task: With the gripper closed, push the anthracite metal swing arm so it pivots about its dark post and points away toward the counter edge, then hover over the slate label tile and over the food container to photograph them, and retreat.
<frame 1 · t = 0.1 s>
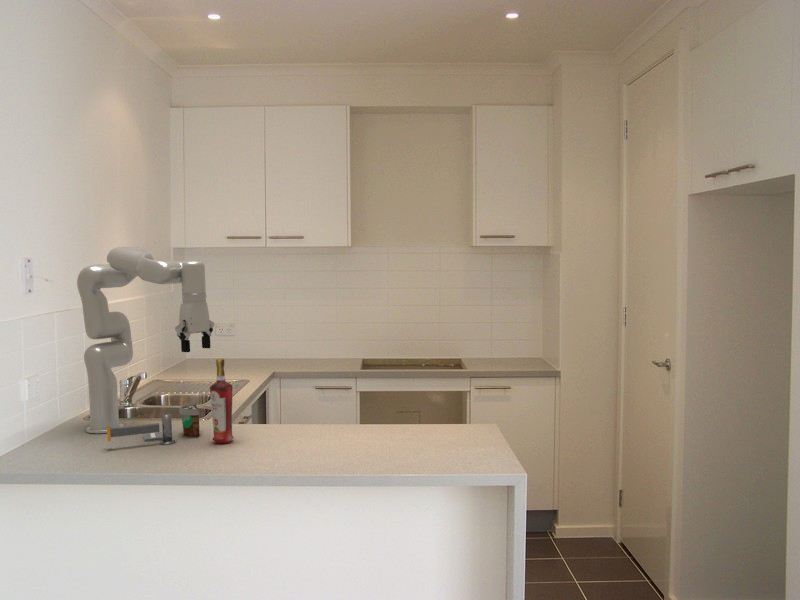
hand: (196, 350, 232), 31 cm above the countertop, tool pointing down, fingers open, 9 cm apart
food container: (189, 435, 244), on the countertop
swing arm: (133, 430, 229), point 6 cm above the countertop, hinge at 0.0°
pivot post: (167, 442, 234), on the countertop
liquor: (223, 442, 233), on the countertop
label tile: (153, 438, 240), on the countertop
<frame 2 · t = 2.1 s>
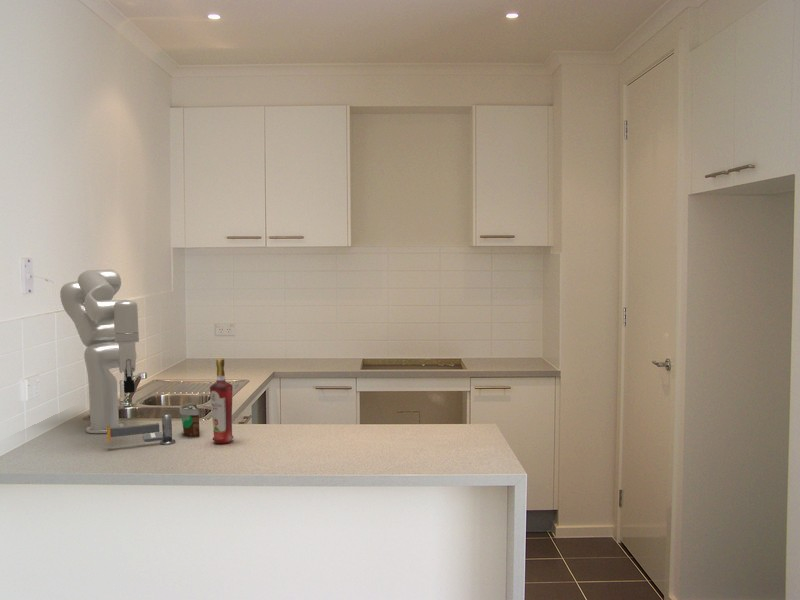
hand: (129, 392, 235), 17 cm above the countertop, tool pointing down, fingers closed
nothing on the countertop moved.
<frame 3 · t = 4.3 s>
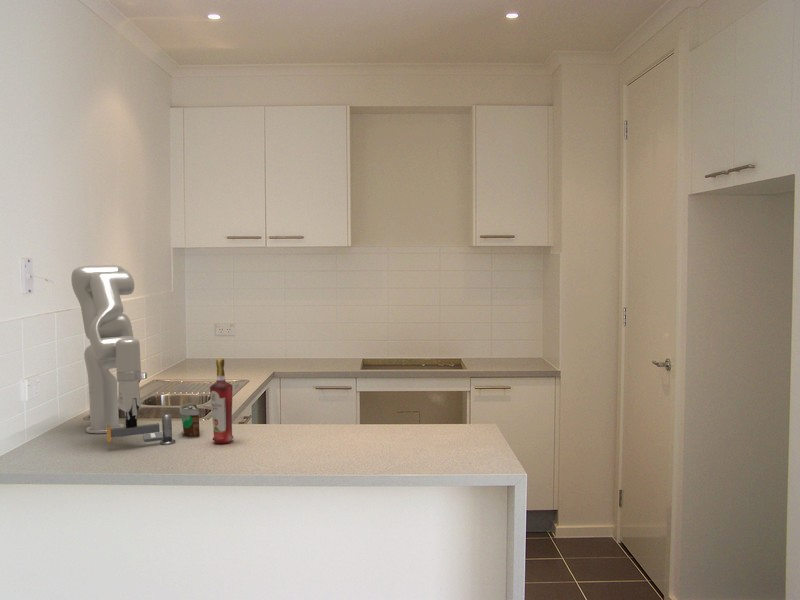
hand: (131, 430, 231), 5 cm above the countertop, tool pointing down, fingers closed
swing arm: (133, 430, 229), point 5 cm above the countertop, hinge at 1.9°, touching gripper
everything else where it was.
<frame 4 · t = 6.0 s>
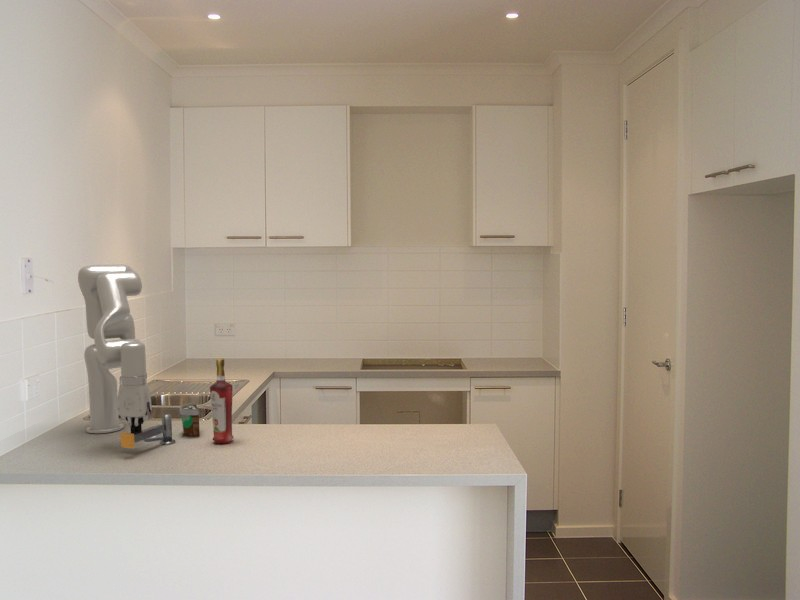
hand: (136, 437, 224), 5 cm above the countertop, tool pointing down, fingers closed
swing arm: (144, 434, 224), point 5 cm above the countertop, hinge at 44.8°, touching gripper
everything else where it was.
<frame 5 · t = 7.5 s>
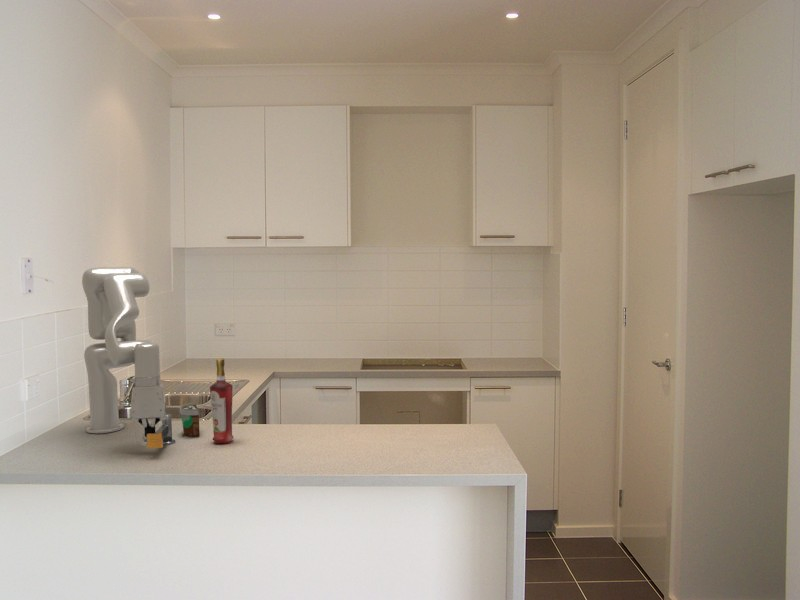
hand: (150, 438, 222), 4 cm above the countertop, tool pointing down, fingers closed
swing arm: (160, 434, 223), point 6 cm above the countertop, hinge at 73.4°, touching gripper
everything else where it was.
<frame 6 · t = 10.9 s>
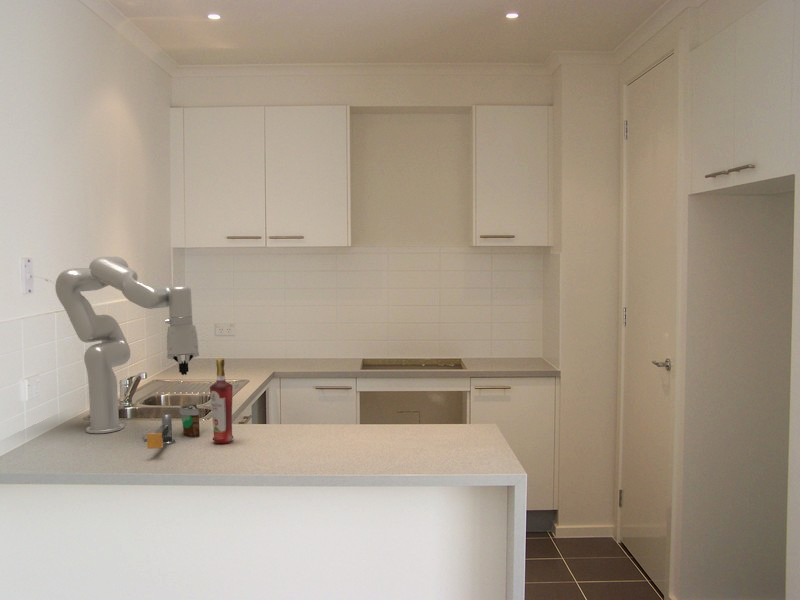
hand: (184, 374, 242), 21 cm above the countertop, tool pointing down, fingers closed
swing arm: (160, 434, 223), point 5 cm above the countertop, hinge at 73.5°
everything else where it was.
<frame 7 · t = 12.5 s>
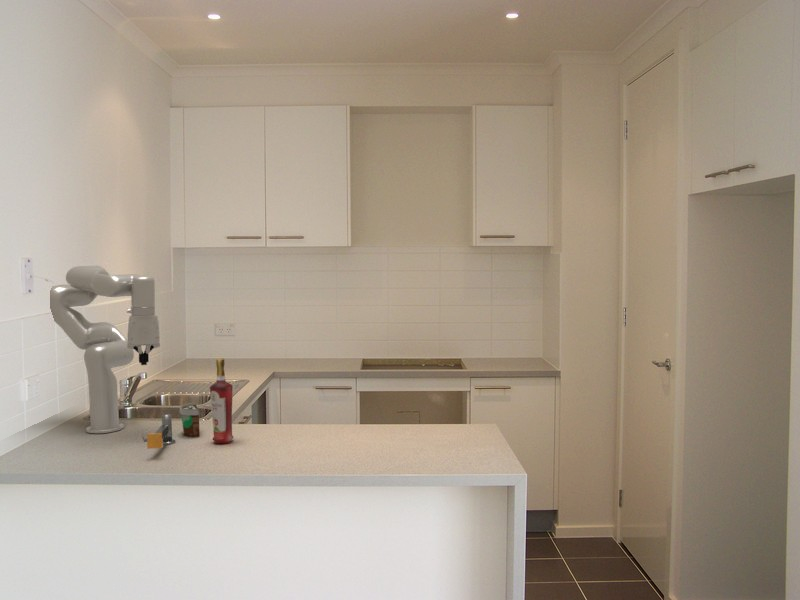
hand: (143, 364, 241), 25 cm above the countertop, tool pointing down, fingers closed
nothing on the countertop moved.
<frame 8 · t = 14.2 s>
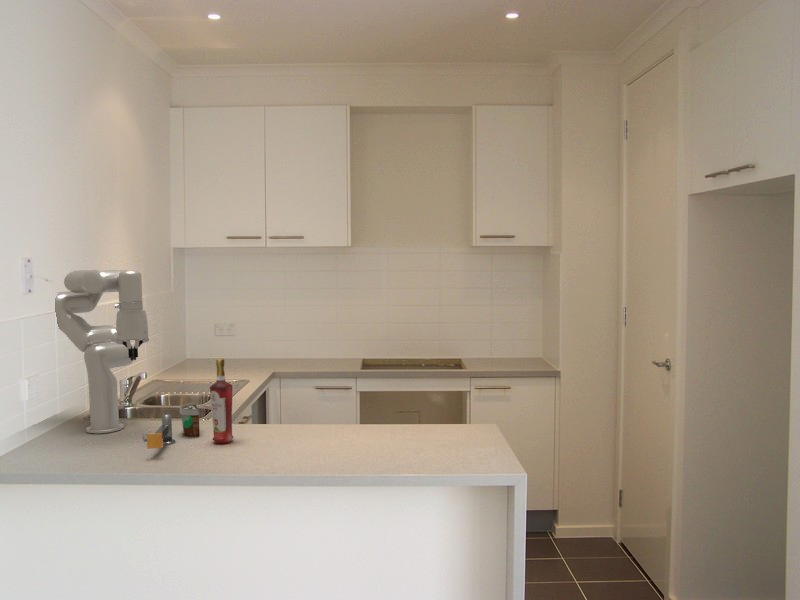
hand: (133, 359, 240), 27 cm above the countertop, tool pointing down, fingers closed
nothing on the countertop moved.
at the end: swing arm at +74° (first picture: +0°); food container moved 0.2 cm from its start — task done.
